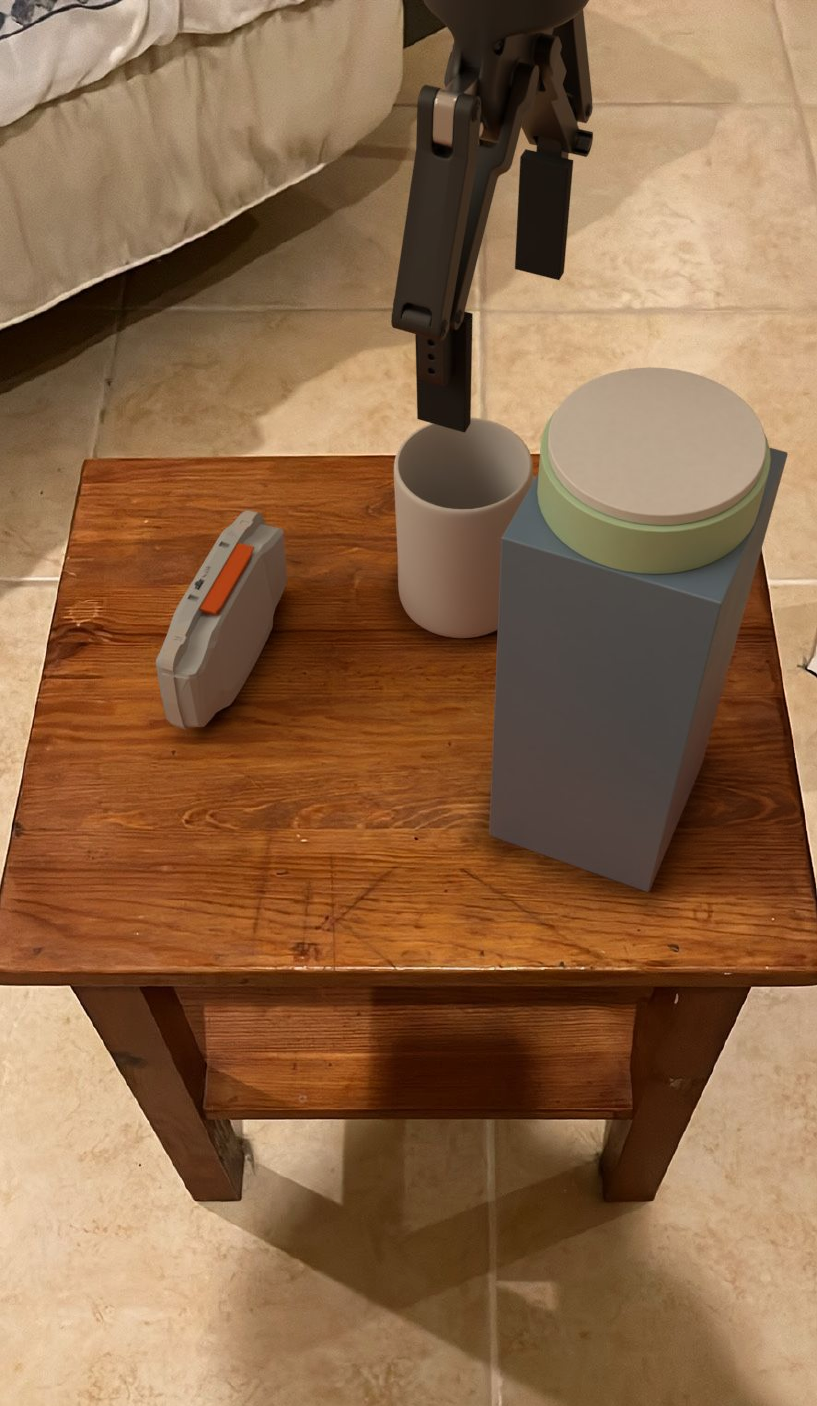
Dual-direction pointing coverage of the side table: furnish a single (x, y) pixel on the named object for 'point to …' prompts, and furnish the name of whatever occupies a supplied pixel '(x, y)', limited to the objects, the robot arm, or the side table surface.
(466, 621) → the mug
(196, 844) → the side table surface
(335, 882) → the side table surface
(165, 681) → the grey case
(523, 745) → the stand
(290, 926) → the side table surface
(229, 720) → the side table surface
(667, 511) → the round tin
